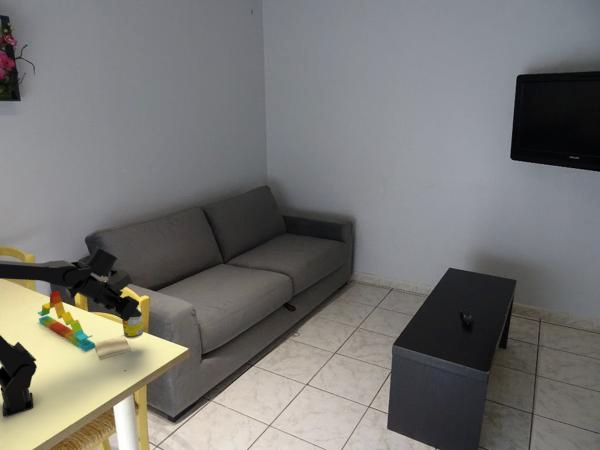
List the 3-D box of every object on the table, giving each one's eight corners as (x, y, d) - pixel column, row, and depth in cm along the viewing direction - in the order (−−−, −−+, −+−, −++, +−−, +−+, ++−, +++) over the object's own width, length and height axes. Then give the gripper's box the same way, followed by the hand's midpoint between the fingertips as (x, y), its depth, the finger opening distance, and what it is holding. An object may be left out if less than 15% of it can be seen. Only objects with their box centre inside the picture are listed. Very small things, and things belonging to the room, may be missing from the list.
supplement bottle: (124, 332, 137) (120, 301, 135) (143, 329, 139) (140, 299, 136) (123, 341, 132) (120, 309, 130) (143, 337, 134) (140, 306, 131)
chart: (96, 347, 141) (89, 304, 136) (86, 352, 138) (78, 308, 134) (49, 319, 158) (41, 280, 154) (39, 323, 156) (31, 284, 151)
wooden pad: (130, 350, 139) (130, 347, 138) (99, 359, 134) (99, 356, 134) (124, 337, 146) (124, 334, 146) (94, 345, 141) (94, 342, 141)
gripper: (129, 273, 120) (168, 297, 131) (97, 257, 132) (135, 280, 143) (103, 309, 117) (146, 331, 128) (73, 289, 129) (114, 311, 140)
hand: (135, 312), depth 135 cm, fingers closed on supplement bottle, 5 cm apart
